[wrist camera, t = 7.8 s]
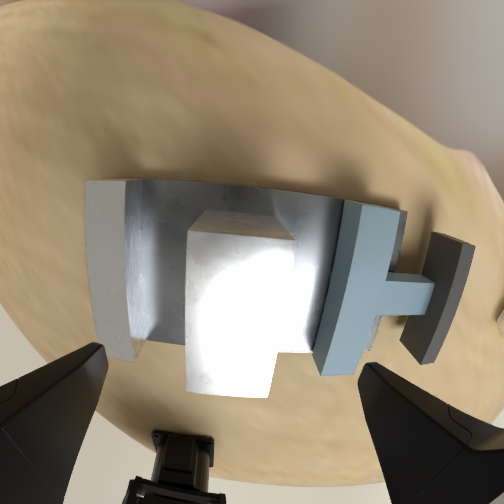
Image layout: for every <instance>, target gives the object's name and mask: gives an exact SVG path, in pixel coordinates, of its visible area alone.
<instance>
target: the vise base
mask: <svg viewBox="0 0 504 504" xmlns="http://www.w3.org/2000/svg"><path fill="white" fill-rule="evenodd" d="M345 200H348V199H342V198H336V197H330V196H323V195H317V194H310V193H303V192H296V191H288V190H280V189H272V188H263V187H254V186H245V185H234V184H224V183H212V182H198V181H183V180H164V179H139V178H107V179H96V180H85V243H86V259H87V271H88V281H89V289H90V297H91V304H92V311H93V317H94V323H95V328H96V334H97V339H98V343H100V344H103V345H104V347H105V351H106V355H107V357H112V358H116V359H121V360H126V361H131V362H135V361H136V359H137V357H138V354H139V352H140V350H141V348H142V346H143V344H144V342H145V340H151V341H158V342H165V343H172V344H180V345H185V283H186V253H187V233H188V230H189V228H190V227H191V226H192V225H193V224H194V223H195V222H196V220H197V219H198V218H199V217H200V216H201V215H202V214H203V213H204V211H205V210H218V211H229V212H239V213H249V214H259V215H269V216H275V217H276V218H277V219H278V220H279V221H280V222H281V223H282V224H283V226H284V227H285V228H286V229H287V230H288V231H289V233H290V234H291V235H292V236H293V237H294V238H295V239H296V241H297V243H296V250H295V256H294V262H293V268H292V274H291V280H290V286H289V292H288V298H287V303H286V309H285V314H284V320H283V325H282V330H281V336H280V341H279V346H278V351H277V352H290V353H313V349H314V345H315V342H316V338H317V334H318V330H319V326H320V323H321V319H322V314H323V310H324V306H325V302H326V298H327V293H328V289H329V284H330V279H331V275H332V270H333V265H334V260H335V255H336V250H337V244H338V239H339V233H340V227H341V221H342V215H343V208H344V202H345ZM350 201H354V200H350ZM355 202H359V201H355ZM361 203H365V202H361ZM366 204H370V203H366ZM372 205H375V204H372ZM377 206H381V205H377ZM381 207H385V208H389V209H392V210H395V211H399V212H400V217H399V222H398V228H397V233H396V238H395V243H394V247H393V252H392V256H391V261H390V265H389V269H388V272H393V273H395V269H396V265H397V261H398V257H399V253H400V248H401V244H402V239H403V234H404V229H405V224H406V218H407V211H404V210H400V209H396V208H391V207H386V206H381ZM381 318H382V316H375V318H374V321H373V324H372V327H371V330H370V333H369V336H368V339H367V342H366V345H365V348H364V350H363V351H370V349H371V346H372V344H373V341H374V338H375V335H376V333H377V330H378V327H379V324H380V321H381Z"/></svg>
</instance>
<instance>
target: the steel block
mask: <svg viewBox="0 0 504 504" xmlns="http://www.w3.org/2000/svg"><path fill="white" fill-rule="evenodd" d="M296 243H297V241H296V239H295V238H294V237H293V236H292V235H291V234H290V233H289V231H288V230H287V229H286V228H285V227H284V226H283V224H282V223H281V222H280V221H279V220H278V219H277V218H276V217H275V216H269V215H259V214H249V213H239V212H229V211H218V210H205V211H204V213H203V214H202V215H201V216H200V217H199V218H198V219H197V220H196V222H195V223H194V224H193V225H192V226H191V227H190V228H189V230H188V233H187V253H186V283H185V353H186V383H187V392H192V393H200V394H210V395H222V396H237V397H262V398H268V393H269V389H270V384H271V380H272V375H273V370H274V365H275V361H276V356H277V351H278V346H279V341H280V336H281V330H282V325H283V320H284V314H285V309H286V303H287V298H288V292H289V286H290V280H291V274H292V268H293V262H294V256H295V250H296Z"/></svg>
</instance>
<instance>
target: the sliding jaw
mask: <svg viewBox="0 0 504 504" xmlns="http://www.w3.org/2000/svg"><path fill="white" fill-rule="evenodd" d="M399 217H400V212H399V211H395V210H392V209H389V208H385V207H381V206H377V205H372V204H366V203H361V202H355V201H350V200H345V202H344V208H343V215H342V221H341V227H340V233H339V239H338V244H337V250H336V255H335V260H334V265H333V270H332V275H331V279H330V284H329V289H328V293H327V298H326V302H325V306H324V310H323V314H322V319H321V323H320V326H319V330H318V334H317V338H316V342H315V345H314V349H313V353H312V355H313V358H314V361H315V363H316V366H317V368H318V371H319V373H320V376H335V375H351V374H354V373H355V371H356V368H357V366H358V363H359V361H360V358H361V356H362V353H363V350H364V348H365V345H366V342H367V339H368V336H369V333H370V330H371V327H372V324H373V321H374V318H375V316H387V315H409V316H408V319H407V322H406V324H405V327H404V330H403V332H402V335H401V338H400V341H401V343H402V344H403V345H404V346H405V347H406V348H407V350H408V351H409V352H410V353H411V354H412V355H413V357H414V358H415V359H416V360H417V361H418V363H419V364H420V365H423V364H428V363H434V362H435V359H436V357H437V355H438V353H439V351H440V349H441V347H442V345H443V342H444V340H445V338H446V335H447V333H448V331H449V328H450V326H451V323H452V321H453V318H454V316H455V313H456V310H457V307H458V305H459V302H460V299H461V296H462V293H463V290H464V287H465V284H466V280H467V277H468V273H469V270H470V266H471V262H472V259H473V255H474V250H475V246H474V245H471V244H469V243H467V242H464V241H462V240H459V239H457V238H454V237H451V236H449V235H446V234H443V233H438V232H433V231H432V232H431V237H430V242H429V246H428V251H427V255H426V259H425V263H424V267H423V271H422V274H421V275H420V274H406V273H393V272H388V269H389V265H390V261H391V256H392V252H393V247H394V243H395V238H396V233H397V228H398V222H399Z"/></svg>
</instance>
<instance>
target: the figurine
mask: <svg viewBox="0 0 504 504" xmlns="http://www.w3.org/2000/svg"><path fill="white" fill-rule="evenodd" d="M496 322H497V324H498V326H499V329H500V331H501V333H502V335H503V338H504V309H503V311H502V312H501V314H500V316H499V317H498V319H497V321H496Z"/></svg>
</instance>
